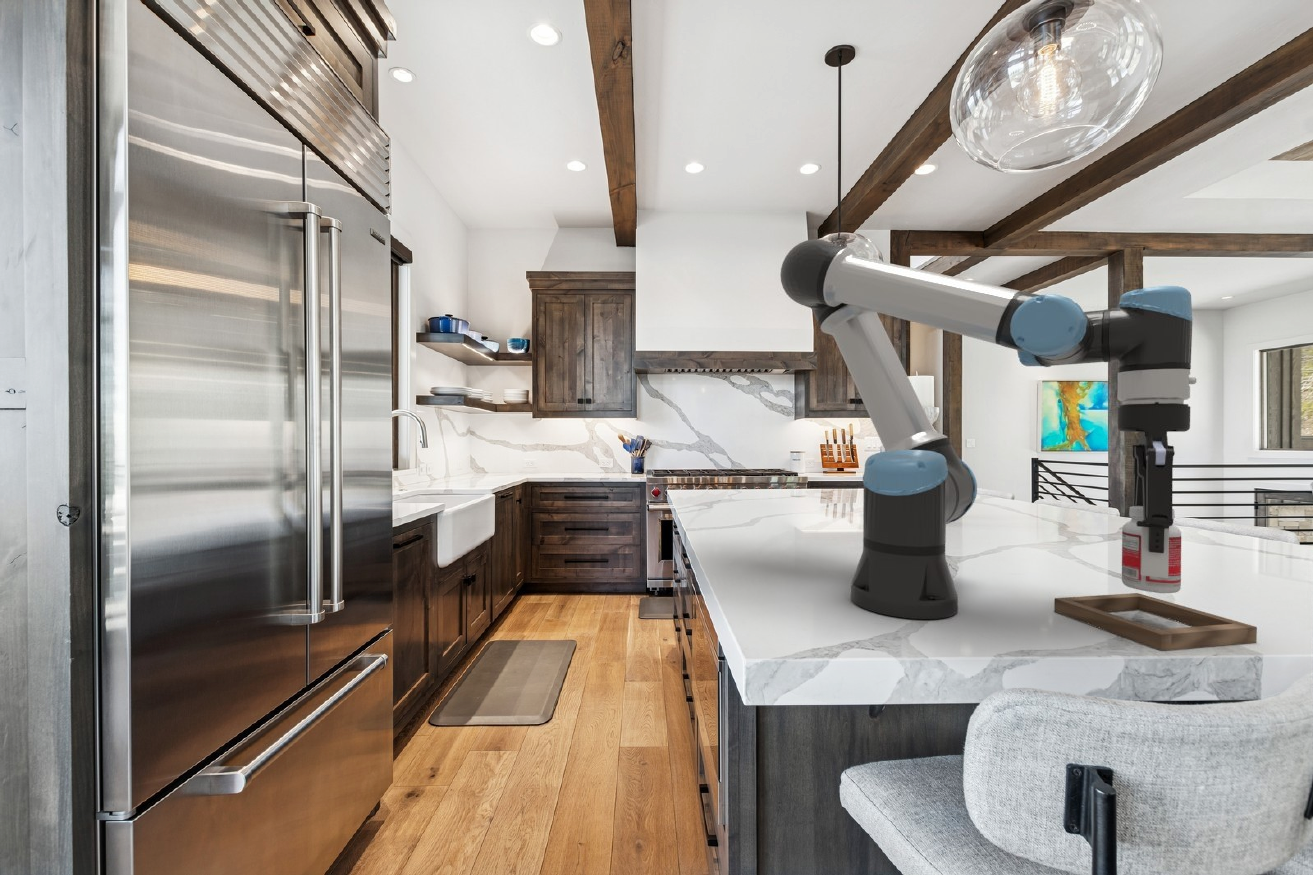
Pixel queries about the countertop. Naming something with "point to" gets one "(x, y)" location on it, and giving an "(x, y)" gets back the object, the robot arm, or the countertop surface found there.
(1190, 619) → the brown wooden square frame
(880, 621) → the countertop surface
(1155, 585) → the pill bottle
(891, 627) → the countertop surface
